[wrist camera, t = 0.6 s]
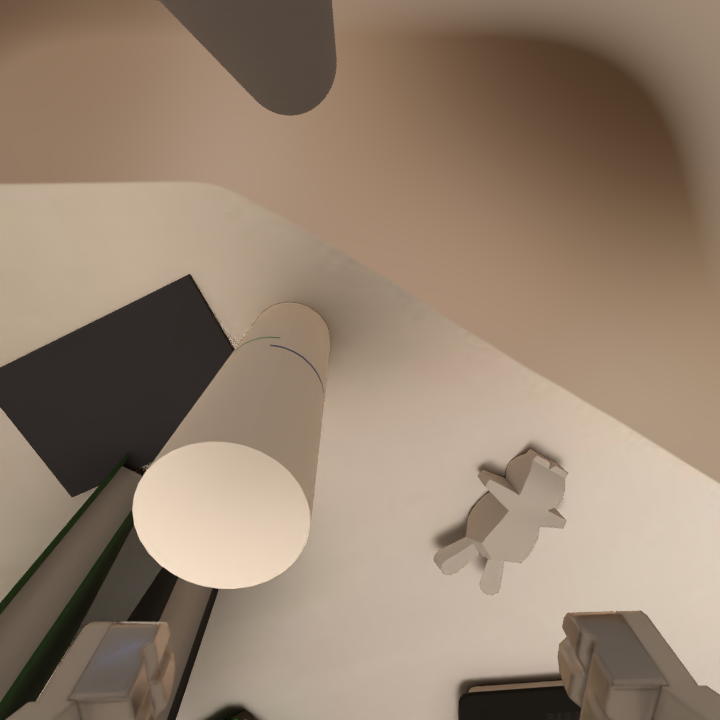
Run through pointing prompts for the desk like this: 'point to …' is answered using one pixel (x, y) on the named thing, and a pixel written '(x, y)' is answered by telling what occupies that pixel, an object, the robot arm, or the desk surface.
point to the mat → (116, 385)
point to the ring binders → (91, 599)
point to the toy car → (243, 716)
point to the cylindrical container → (242, 460)
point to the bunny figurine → (508, 518)
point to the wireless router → (519, 702)
